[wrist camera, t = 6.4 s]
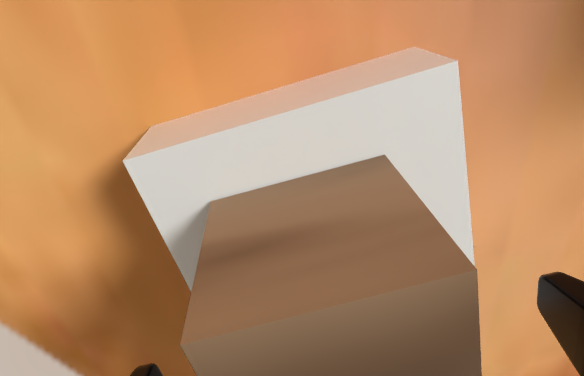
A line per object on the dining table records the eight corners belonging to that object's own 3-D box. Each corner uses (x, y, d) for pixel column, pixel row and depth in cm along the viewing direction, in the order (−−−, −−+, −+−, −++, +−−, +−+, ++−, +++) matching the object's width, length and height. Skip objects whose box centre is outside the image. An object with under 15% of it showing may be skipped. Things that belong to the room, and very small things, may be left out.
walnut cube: (405, 288, 13) (484, 443, 9) (261, 325, 13) (264, 496, 9) (384, 154, 11) (477, 269, 6) (210, 201, 11) (179, 345, 6)
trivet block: (437, 255, 17) (478, 314, 14) (240, 309, 17) (236, 378, 14) (409, 45, 13) (457, 60, 10) (154, 122, 13) (122, 161, 10)
